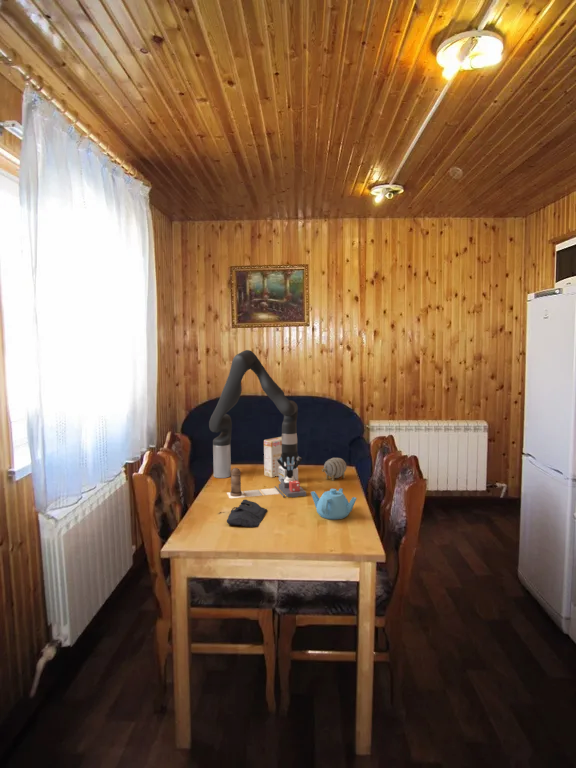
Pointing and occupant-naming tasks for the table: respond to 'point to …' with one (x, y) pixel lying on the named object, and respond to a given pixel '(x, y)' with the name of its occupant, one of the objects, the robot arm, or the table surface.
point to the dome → (289, 479)
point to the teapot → (333, 504)
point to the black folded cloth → (247, 514)
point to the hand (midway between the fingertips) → (289, 477)
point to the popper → (292, 488)
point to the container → (283, 472)
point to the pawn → (235, 482)
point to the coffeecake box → (272, 456)
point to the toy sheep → (334, 468)
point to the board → (258, 493)
